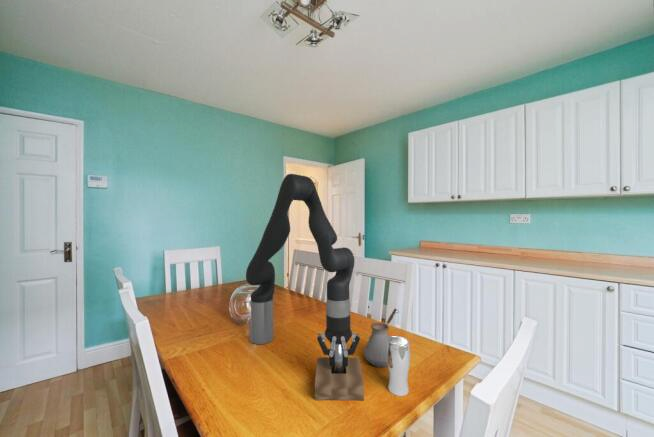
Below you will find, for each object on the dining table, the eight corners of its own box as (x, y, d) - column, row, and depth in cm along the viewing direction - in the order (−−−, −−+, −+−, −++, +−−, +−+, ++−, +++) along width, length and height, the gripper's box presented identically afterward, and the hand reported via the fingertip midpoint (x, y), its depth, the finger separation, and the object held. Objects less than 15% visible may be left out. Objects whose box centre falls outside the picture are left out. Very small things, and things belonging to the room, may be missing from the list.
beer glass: (383, 383, 87) (383, 336, 86) (405, 381, 87) (405, 334, 87) (390, 397, 80) (390, 346, 79) (414, 396, 80) (413, 345, 80)
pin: (333, 380, 84) (333, 344, 84) (333, 374, 87) (333, 339, 87) (344, 380, 84) (343, 344, 84) (343, 374, 87) (343, 339, 87)
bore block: (315, 400, 79) (314, 382, 79) (317, 372, 93) (317, 357, 93) (363, 400, 79) (363, 383, 79) (359, 372, 93) (359, 357, 93)
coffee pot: (388, 374, 91) (387, 329, 91) (358, 363, 98) (357, 321, 98) (410, 348, 109) (410, 310, 108) (383, 340, 115) (383, 305, 115)
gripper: (314, 316, 82) (315, 374, 82) (362, 316, 82) (362, 374, 82) (316, 308, 89) (316, 360, 90) (359, 308, 89) (360, 360, 89)
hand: (338, 366), depth 86 cm, fingers closed on pin, 3 cm apart
